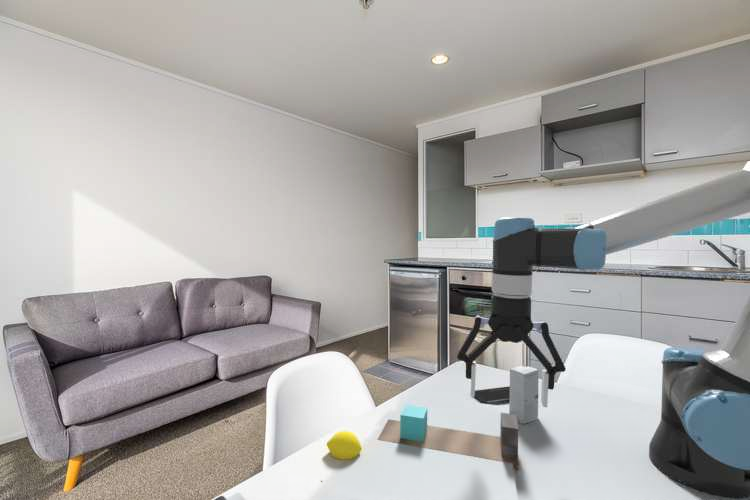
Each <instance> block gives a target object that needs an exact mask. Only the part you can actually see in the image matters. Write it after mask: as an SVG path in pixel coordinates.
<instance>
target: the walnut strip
mask: <svg viewBox="0 0 750 500" xmlns="http://www.w3.org/2000/svg"><path fill="white" fill-rule="evenodd" d="M377 440H378V441H384V442H389V443H396V444H400V445H406V446H412V447H418V448H423V449H429V450H435V451H440V452H447V453H451V454H458V455H464V456H470V457H474V458H481V459H487V460H490V461H491V460H493V461H496V462H497V461H498V462H502V463H503V462H504V463H509V464H512V466H513V470H516V471H519V425H518V421H517V418H516V415H515V414H509V413H507V412H500V436H498V435H491V434H485V433H480V432H479V433H478V432H472V431H465V430H460V429H459V430H458V429H453V428H446V427H440V426H434V425H429V424H427V432H426V435H425V438H424V442H421V441H415V440H409V439H403V438H400V420H395V419H389V418H388V419H387V421H386V423H385V424H384V426H383V429H382V431H381V432H380V434H379V436H378V438H377Z"/></svg>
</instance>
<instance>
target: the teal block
mask: <svg viewBox="0 0 750 500" xmlns="http://www.w3.org/2000/svg"><path fill="white" fill-rule="evenodd" d="M399 419H400V420H399V421H400V438H403V439H409V440H415V441H421V442H424V438H425V435H426V432H427V425H428V407H422V406H416V405H410V404H405V405H404V406H403V408H402V411H401V413H400V416H399Z"/></svg>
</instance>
